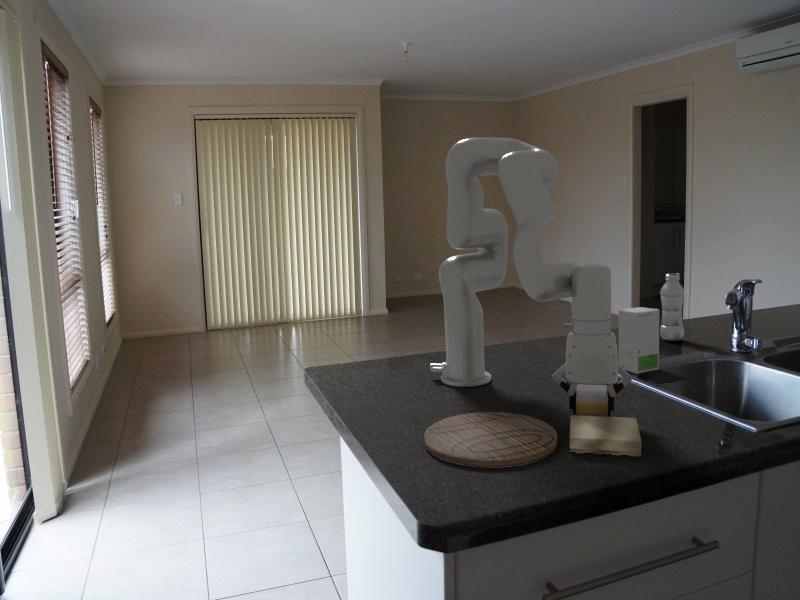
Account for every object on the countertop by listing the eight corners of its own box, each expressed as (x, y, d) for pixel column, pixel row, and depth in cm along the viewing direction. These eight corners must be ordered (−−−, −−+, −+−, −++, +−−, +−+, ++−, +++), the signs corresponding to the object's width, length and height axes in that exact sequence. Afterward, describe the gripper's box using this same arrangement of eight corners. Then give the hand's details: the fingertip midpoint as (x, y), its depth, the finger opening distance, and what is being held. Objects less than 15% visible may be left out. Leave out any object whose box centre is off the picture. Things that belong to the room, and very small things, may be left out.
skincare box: (636, 374, 164) (636, 313, 162) (616, 369, 170) (616, 309, 168) (660, 369, 168) (661, 308, 166) (639, 364, 174) (640, 305, 171)
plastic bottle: (687, 342, 194) (689, 274, 191) (664, 343, 194) (665, 275, 191) (678, 337, 200) (680, 272, 197) (656, 338, 201) (657, 273, 197)
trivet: (403, 435, 132) (402, 426, 132) (509, 413, 142) (509, 404, 142) (465, 482, 110) (464, 471, 109) (586, 452, 120) (586, 442, 119)
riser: (569, 453, 118) (569, 437, 118) (570, 430, 130) (570, 415, 129) (641, 457, 115) (641, 441, 114) (635, 432, 126) (635, 417, 126)
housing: (576, 424, 132) (576, 395, 131) (576, 411, 140) (576, 384, 139) (607, 426, 131) (607, 396, 130) (606, 412, 138) (606, 385, 137)
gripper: (546, 330, 131) (547, 417, 134) (638, 331, 126) (638, 421, 129) (547, 322, 138) (549, 406, 141) (635, 323, 133) (634, 409, 136)
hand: (591, 412), depth 135 cm, fingers closed on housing, 6 cm apart
